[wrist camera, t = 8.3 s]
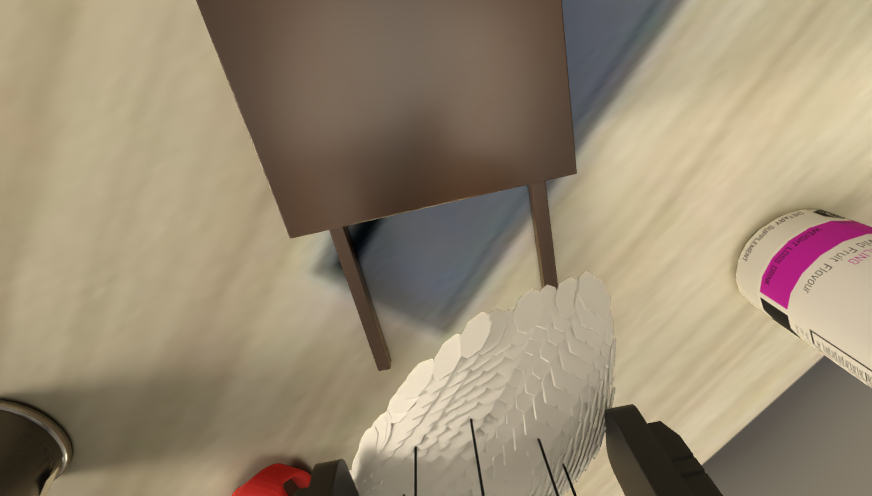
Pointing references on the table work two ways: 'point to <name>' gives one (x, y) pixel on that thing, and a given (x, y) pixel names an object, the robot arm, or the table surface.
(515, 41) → the box with long handles
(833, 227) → the supplement can
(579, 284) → the pincushion
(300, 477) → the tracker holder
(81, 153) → the table surface
